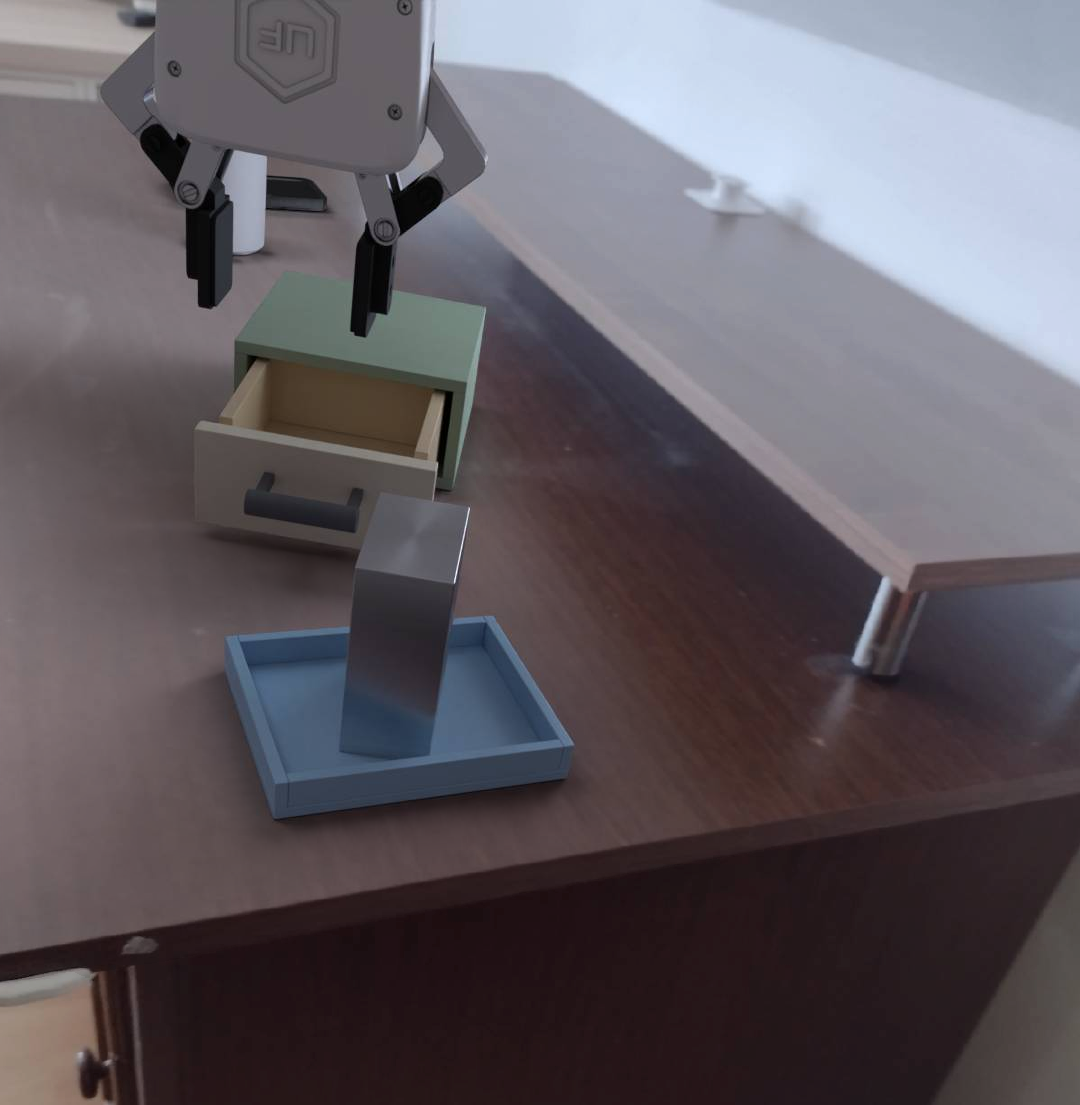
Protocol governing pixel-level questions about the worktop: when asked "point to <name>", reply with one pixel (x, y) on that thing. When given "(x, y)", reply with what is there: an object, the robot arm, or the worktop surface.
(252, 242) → the can
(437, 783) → the tray
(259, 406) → the drawer
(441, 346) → the cabinet
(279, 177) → the phone
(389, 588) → the brushed metal block
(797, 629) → the worktop surface
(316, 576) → the worktop surface
